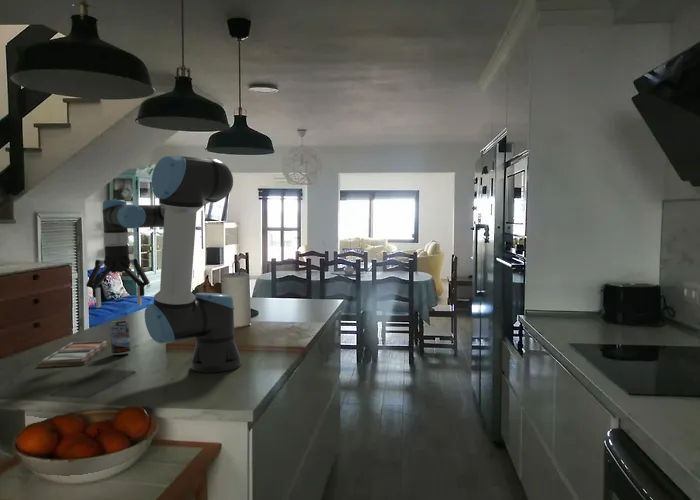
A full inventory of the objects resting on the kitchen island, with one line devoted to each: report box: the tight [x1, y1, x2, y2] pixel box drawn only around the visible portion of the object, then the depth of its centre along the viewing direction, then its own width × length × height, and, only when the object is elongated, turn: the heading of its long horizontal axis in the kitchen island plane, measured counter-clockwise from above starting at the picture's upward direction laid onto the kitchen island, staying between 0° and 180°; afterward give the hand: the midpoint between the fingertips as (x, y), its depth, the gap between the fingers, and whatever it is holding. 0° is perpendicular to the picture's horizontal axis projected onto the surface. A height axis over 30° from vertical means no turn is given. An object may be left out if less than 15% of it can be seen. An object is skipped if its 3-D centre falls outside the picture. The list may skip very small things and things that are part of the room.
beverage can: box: [109, 319, 131, 356], centre depth 184 cm, size 6×7×12 cm
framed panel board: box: [37, 340, 111, 368], centre depth 184 cm, size 26×14×2 cm, turn 7°
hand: (119, 306), depth 184 cm, fingers open, 13 cm apart
